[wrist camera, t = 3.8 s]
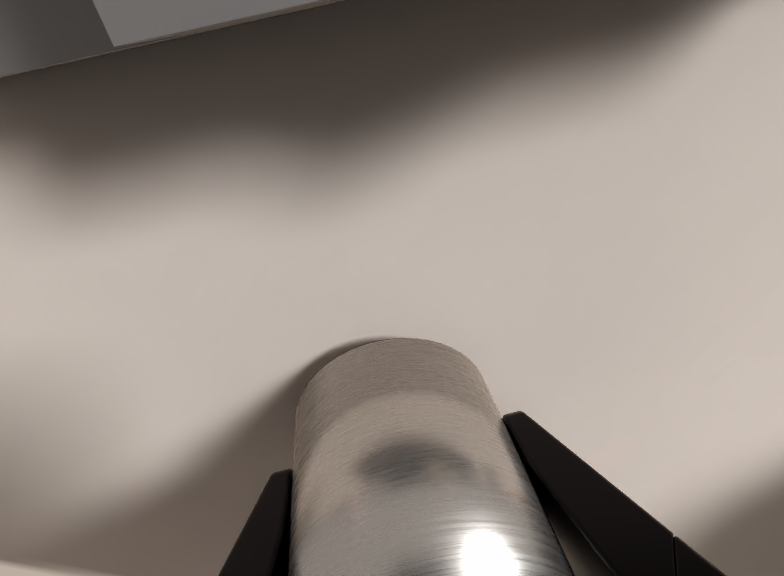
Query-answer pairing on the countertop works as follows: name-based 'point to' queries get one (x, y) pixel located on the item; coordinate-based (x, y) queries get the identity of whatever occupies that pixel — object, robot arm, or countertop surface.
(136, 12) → the scale
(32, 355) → the countertop surface
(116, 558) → the countertop surface
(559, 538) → the robot arm
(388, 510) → the cylinder
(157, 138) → the countertop surface
